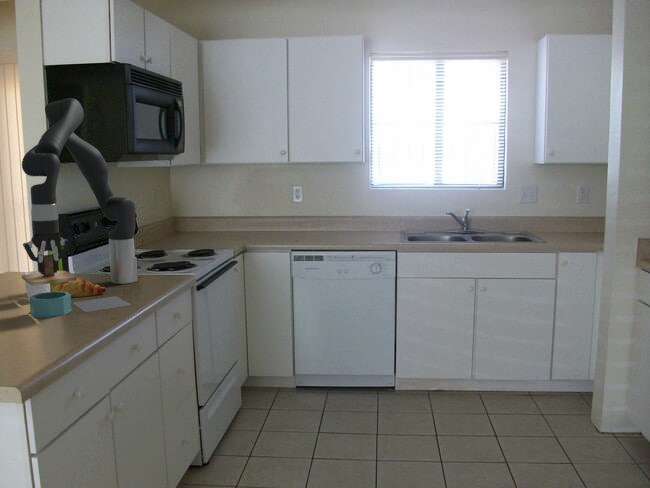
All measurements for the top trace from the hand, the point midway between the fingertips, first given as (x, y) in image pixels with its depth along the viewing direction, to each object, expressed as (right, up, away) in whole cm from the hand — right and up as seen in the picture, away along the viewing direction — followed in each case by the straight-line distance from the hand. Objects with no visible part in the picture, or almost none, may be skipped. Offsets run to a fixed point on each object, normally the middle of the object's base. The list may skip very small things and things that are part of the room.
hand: (48, 272), depth 191 cm
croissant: (-2, -10, +27) cm, 28 cm away
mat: (+12, -12, +13) cm, 21 cm away
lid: (0, -2, 0) cm, 2 cm away
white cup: (-11, -11, +18) cm, 24 cm away
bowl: (0, -13, +2) cm, 13 cm away
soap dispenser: (-12, -8, +34) cm, 37 cm away
